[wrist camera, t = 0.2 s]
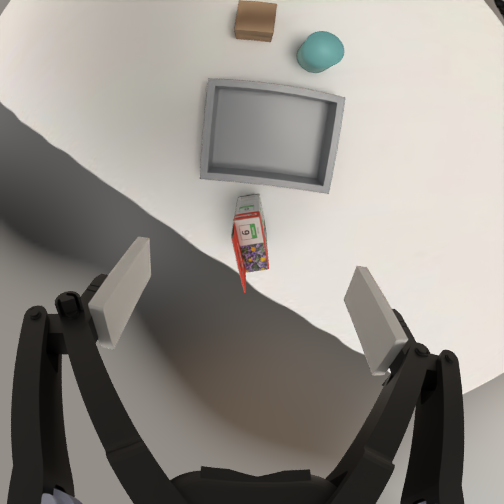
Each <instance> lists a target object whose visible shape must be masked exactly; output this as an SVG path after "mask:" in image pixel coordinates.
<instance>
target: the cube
mask: <svg viewBox="0 0 504 504" xmlns="http://www.w3.org/2000/svg"><path fill="white" fill-rule="evenodd" d="M276 8H277V4H274V3H266V2H255V1H241V0H239V4H238V10H237V16H236V23H235V29H234V30H235V34H236V39H246V40H257V41H266V42H271V40H272V36H273V31H274V23H275V16H276Z"/></svg>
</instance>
